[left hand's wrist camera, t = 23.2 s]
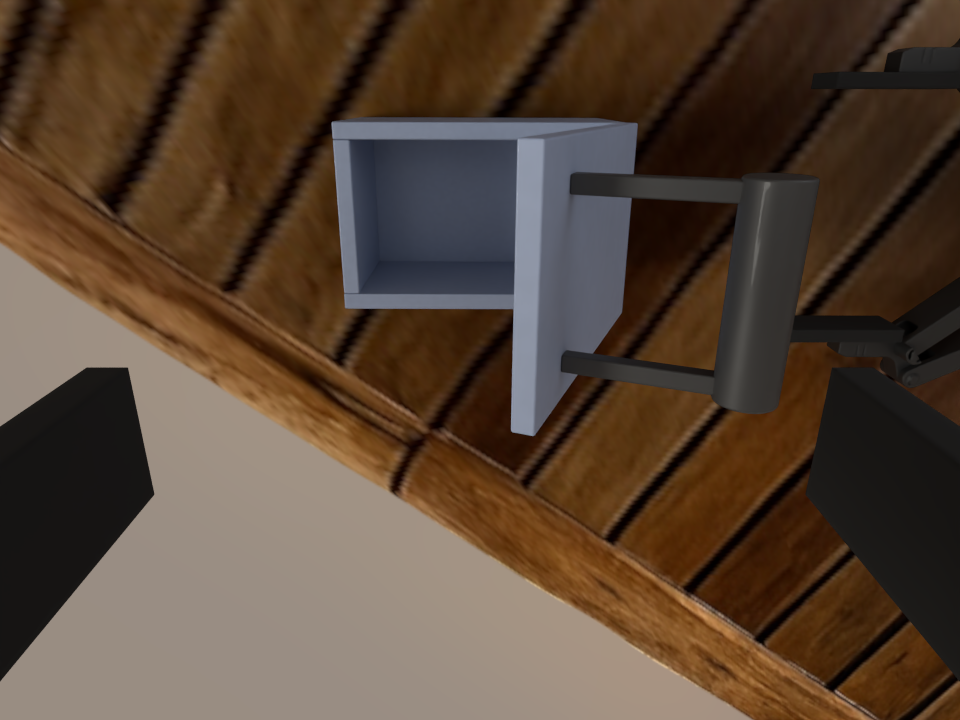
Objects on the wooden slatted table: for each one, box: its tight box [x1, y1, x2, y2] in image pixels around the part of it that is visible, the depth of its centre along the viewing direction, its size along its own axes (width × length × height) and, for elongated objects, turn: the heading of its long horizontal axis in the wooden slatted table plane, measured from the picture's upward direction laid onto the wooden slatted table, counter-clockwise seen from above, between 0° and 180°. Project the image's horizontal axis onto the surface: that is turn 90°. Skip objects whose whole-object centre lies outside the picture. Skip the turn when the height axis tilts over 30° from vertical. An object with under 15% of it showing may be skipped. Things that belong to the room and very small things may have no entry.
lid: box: [511, 123, 820, 436], centre depth 26 cm, size 15×10×8 cm
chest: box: [332, 117, 625, 309], centre depth 39 cm, size 15×10×9 cm, turn 90°
